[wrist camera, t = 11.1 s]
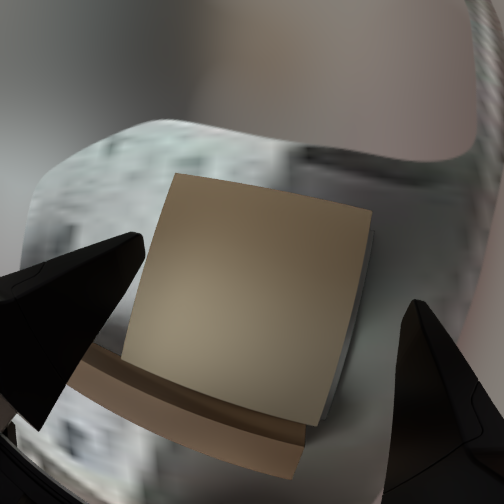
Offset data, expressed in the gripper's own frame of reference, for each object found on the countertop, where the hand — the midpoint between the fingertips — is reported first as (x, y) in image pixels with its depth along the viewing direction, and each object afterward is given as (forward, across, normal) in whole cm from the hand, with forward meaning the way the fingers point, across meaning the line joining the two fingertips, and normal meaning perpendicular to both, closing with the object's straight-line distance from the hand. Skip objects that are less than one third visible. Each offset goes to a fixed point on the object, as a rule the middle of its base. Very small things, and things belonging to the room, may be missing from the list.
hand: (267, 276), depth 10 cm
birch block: (+5, 0, +6) cm, 8 cm away
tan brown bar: (0, +5, +12) cm, 13 cm away
